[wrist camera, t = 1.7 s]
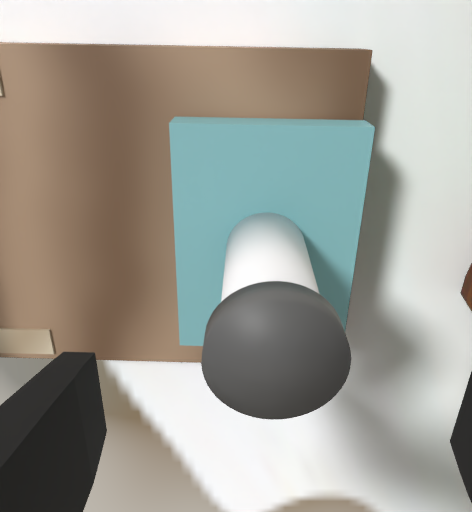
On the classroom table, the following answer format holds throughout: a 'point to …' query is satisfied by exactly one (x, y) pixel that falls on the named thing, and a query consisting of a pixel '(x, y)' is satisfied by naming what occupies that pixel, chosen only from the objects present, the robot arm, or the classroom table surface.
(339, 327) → the teal plate with post
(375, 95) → the classroom table surface
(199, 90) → the bench base
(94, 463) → the robot arm
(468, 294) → the food container
